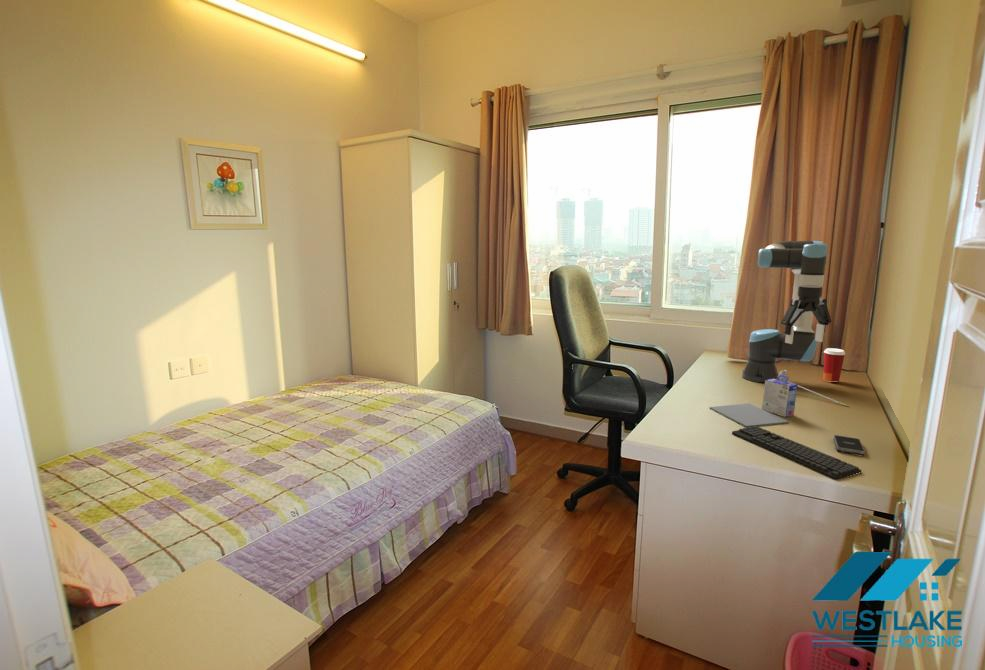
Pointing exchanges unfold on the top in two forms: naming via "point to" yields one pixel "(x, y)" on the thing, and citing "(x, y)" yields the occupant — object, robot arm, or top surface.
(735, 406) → the mat
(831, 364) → the coffee cup
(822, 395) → the brush
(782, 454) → the keyboard
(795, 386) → the ink cartridge box
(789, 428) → the top surface
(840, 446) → the external hard drive
